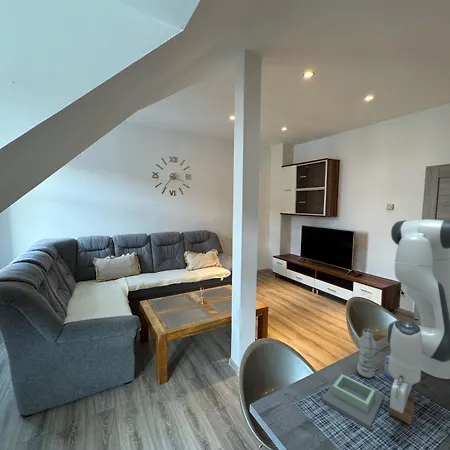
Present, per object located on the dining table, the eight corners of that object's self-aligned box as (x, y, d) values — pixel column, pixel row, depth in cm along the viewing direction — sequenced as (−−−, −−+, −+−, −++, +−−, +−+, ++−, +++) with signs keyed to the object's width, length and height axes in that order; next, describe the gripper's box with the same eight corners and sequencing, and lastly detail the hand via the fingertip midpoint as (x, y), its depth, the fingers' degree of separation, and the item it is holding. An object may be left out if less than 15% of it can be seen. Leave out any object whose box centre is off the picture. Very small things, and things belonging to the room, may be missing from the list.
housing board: (340, 377, 105) (341, 366, 104) (384, 398, 94) (384, 386, 93) (322, 401, 93) (322, 389, 92) (369, 430, 81) (370, 416, 81)
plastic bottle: (358, 367, 111) (360, 325, 109) (375, 374, 107) (378, 330, 104) (355, 375, 106) (357, 331, 104) (373, 382, 102) (375, 337, 99)
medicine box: (383, 374, 106) (384, 356, 105) (390, 372, 108) (392, 353, 107) (402, 387, 99) (403, 367, 98) (409, 384, 100) (411, 365, 99)
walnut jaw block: (392, 407, 89) (393, 387, 88) (412, 417, 85) (414, 396, 84) (389, 414, 86) (390, 393, 86) (410, 425, 82) (412, 403, 81)
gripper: (409, 391, 74) (406, 432, 76) (420, 359, 88) (417, 394, 90) (385, 380, 79) (383, 419, 80) (399, 352, 93) (397, 385, 95)
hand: (401, 406), depth 85 cm, fingers closed on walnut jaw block, 4 cm apart
